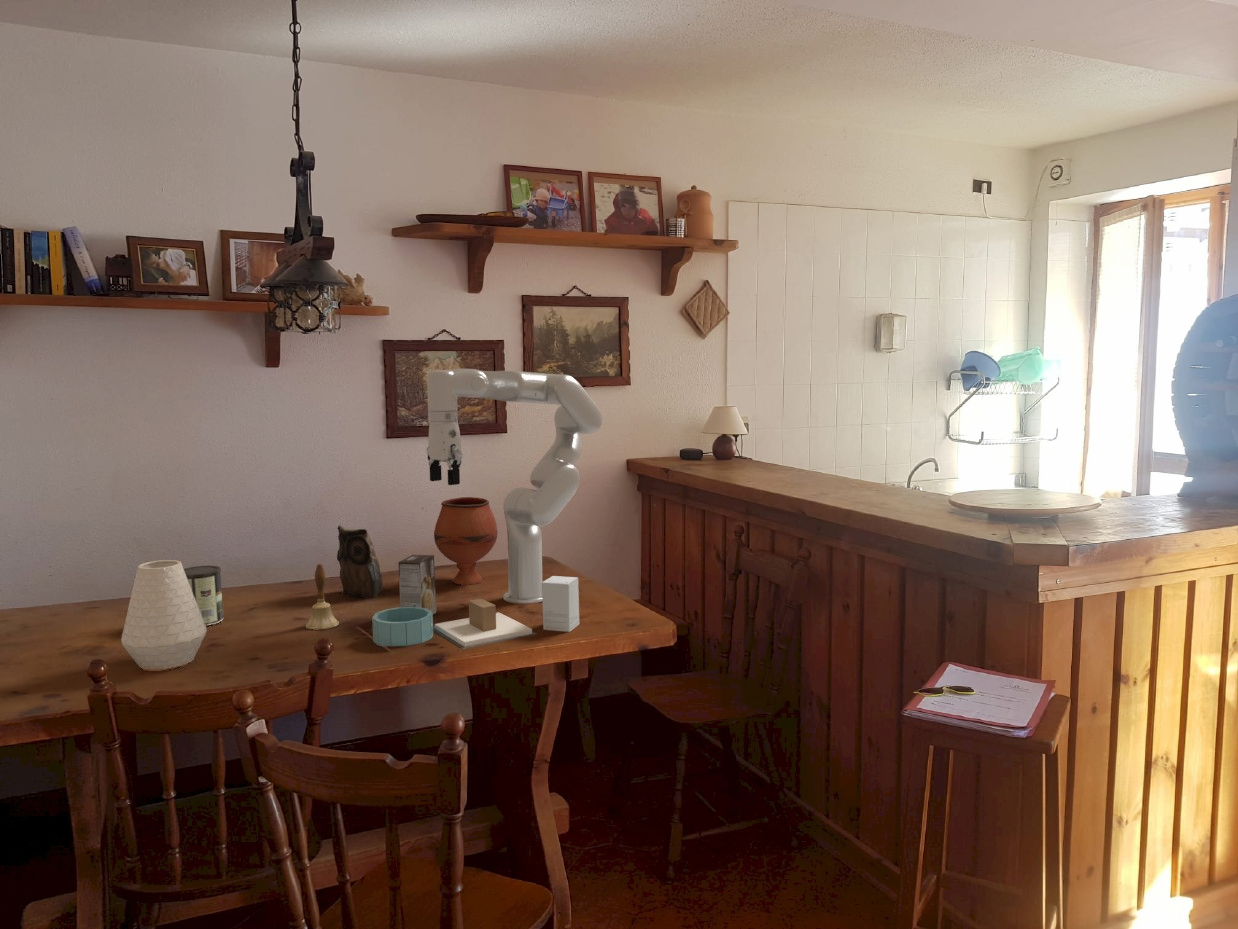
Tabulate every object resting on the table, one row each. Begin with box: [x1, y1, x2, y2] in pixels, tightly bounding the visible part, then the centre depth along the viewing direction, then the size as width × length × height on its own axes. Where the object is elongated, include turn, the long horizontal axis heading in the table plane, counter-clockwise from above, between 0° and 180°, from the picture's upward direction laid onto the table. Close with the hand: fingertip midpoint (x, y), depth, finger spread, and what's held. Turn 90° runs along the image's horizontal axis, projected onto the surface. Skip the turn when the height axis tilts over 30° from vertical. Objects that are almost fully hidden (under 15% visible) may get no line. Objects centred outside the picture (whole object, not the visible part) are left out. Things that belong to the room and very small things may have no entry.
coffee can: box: [183, 565, 225, 626], centre depth 245 cm, size 10×10×14 cm
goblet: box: [433, 496, 499, 586], centre depth 285 cm, size 19×19×25 cm
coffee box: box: [397, 554, 437, 615], centre depth 248 cm, size 9×6×16 cm
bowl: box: [371, 606, 434, 648], centre depth 231 cm, size 14×14×6 cm
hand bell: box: [305, 563, 340, 631], centre depth 242 cm, size 8×8×16 cm
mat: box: [433, 626, 538, 650], centre depth 235 cm, size 20×20×1 cm
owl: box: [336, 524, 383, 599], centre depth 272 cm, size 13×13×20 cm
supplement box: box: [541, 575, 580, 633], centre depth 238 cm, size 7×7×13 cm
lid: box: [434, 598, 533, 647], centre depth 235 cm, size 18×18×7 cm
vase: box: [120, 559, 208, 669], centre depth 213 cm, size 17×17×23 cm
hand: (444, 482), depth 247 cm, fingers open, 9 cm apart
